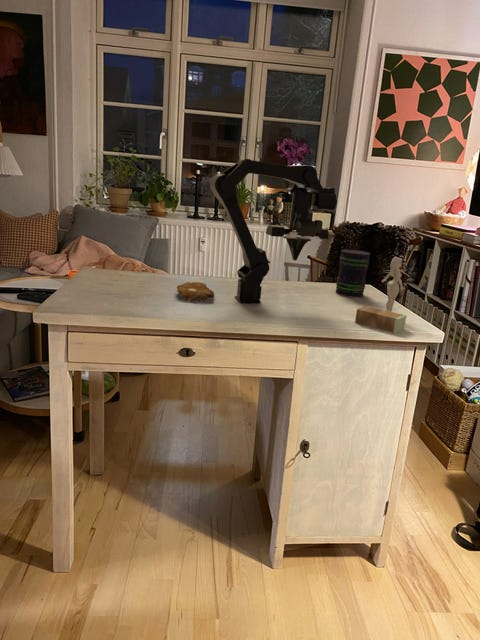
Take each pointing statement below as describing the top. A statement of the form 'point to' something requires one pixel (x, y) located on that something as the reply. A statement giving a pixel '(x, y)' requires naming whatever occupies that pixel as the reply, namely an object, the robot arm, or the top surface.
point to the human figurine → (393, 282)
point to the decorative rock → (194, 291)
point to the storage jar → (352, 273)
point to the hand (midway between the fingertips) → (294, 260)
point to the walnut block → (380, 319)
